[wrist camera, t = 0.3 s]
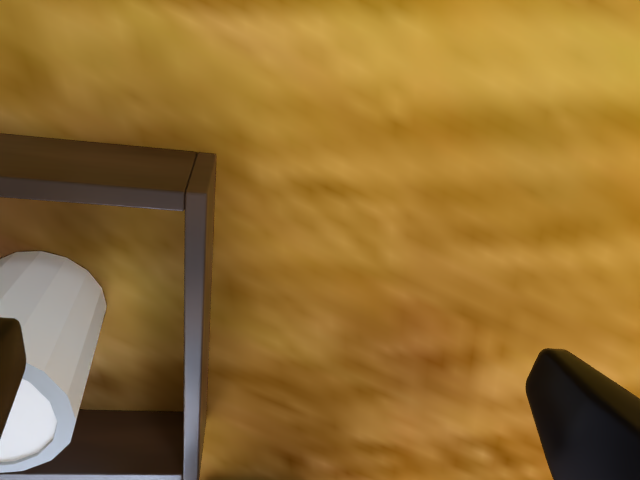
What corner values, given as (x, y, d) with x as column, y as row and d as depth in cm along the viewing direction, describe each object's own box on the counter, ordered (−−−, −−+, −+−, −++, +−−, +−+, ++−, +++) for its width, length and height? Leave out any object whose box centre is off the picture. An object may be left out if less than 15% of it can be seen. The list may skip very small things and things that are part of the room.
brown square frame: (206, 421, 30) (198, 484, 27) (-90, 415, 28) (-140, 483, 24) (216, 153, 22) (207, 194, 18) (-202, 113, 20) (-302, 151, 16)
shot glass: (-24, 347, 26) (-111, 472, 20) (-44, 229, 23) (-156, 336, 17) (119, 359, 27) (77, 480, 21) (120, 248, 24) (71, 355, 18)
